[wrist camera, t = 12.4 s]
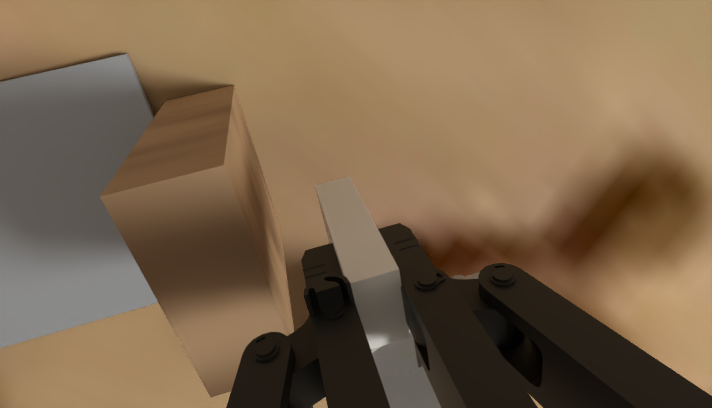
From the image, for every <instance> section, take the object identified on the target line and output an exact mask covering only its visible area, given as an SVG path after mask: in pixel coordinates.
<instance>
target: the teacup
mask: <svg viewBox="0 0 712 408" xmlns="http://www.w3.org/2000/svg"><path fill="white" fill-rule="evenodd" d="M479 273H480V272H478V273H475V274H472V275H468V276H462V275H455V276H453V277H451V278H453V279H478V275H479ZM409 334H410V337H409V338H406V339H403V340H400V341H397V342H393V343H390V344H387V345H384V346H381V347H377V348H374V349H371V352H372V355H373V358H374V361H375V364H376V367H377V369H378V372H379V375H380V378H381V381H382V384H383V387H384V390H385V393H386V396H387V399H388V402H389V405H390V408H441V406H440V403H439V401H438V399H437V397H436V395H435V392H434V390H433V388H432V386H431V383H430V381H429V379H428V377H427V375H426V372H425V370H424V368H423V366H422V367H419V368H418V363H417V357H416V350H415V344H414V338H413V336H412V333H411V331H410V329H409Z"/></svg>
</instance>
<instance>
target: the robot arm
mask: <svg viewBox="0 0 712 408" xmlns="http://www.w3.org/2000/svg"><path fill="white" fill-rule="evenodd" d="M315 188H316V192H317V196H318V199H319V203H320V207H321V211H322V215H323V219H324V223H325V227H326V231H327V235H328V239H329V242H330V244H327V245H324V246H320V247H316V248H313V249H309V250H306V251H305V253H304V256H303V258H302V260H301V261H302V266H303V271H304V276H305V281H306V288H305V290H304V298H305V301H306V304H307V307H308V311H309V314H310V315H309V318H308V319H307V321H306V322H305V323H304V324H303V325H302V326H301V327H300V328H299V329H297V330H296V331H295V332H293V333H291V334H289V335H288V336H286V335H285V334H282V333H280V332H269V333H265V334H262V335H260V336H258V337H256V338H255V339H253V340H252V341H251V342H250V343H249V344H248V345H247V346H246V348H245V350H244V352H243V354H242V357H241V361H240V364H239V367H238V371H237V374H236V377H235V381H234V384H233V387H232V391H231V394H230V397H229V401H228V404H227V407H226V408H313V405H314V404H315V403H317V402H318V401H320V400H321V399H323V398H324V397H326V400H327V405H328V408H390V405H389V402H388V399H387V396H386V393H385V390H384V387H383V384H382V381H381V378H380V375H379V372H378V369H377V367H376V364H375V361H374V358H373V355H372V352H371V349H374V348H377V347H381V346H384V345H387V344H390V343H393V342H397V341H400V340H403V339H406V338H409V337H410V334H409V329H410V331H411V333H412V336H413V338H414V344H415V350H416V357H417V363H418V368H419V367H422V366H423V368H424V370H425V372H426V375H427V377H428V379H429V381H430V383H431V386H432V388H433V390H434V392H435V395H436V397H437V399H438V401H439V403H440V406H441V408H538V407H537V406H536V405H535V403H534V402H533V400H532V399H531V397H530V396H529V394H530V395H531V396H532V397H533V398H534V399H535V400H536V401H537V402H538V403H539V404H540V405H541V406H542V407H543V408H712V396H711V395H709V394H708V393H706V392H705V391H703V390H702V389H700V388H699V387H697V386H696V385H694V384H693V383H691V382H690V381H688V380H687V379H685V378H684V377H682V376H681V375H679V374H678V373H676V372H675V371H673V370H672V369H670V368H669V367H667V366H666V365H664V364H663V363H661V362H660V361H658V360H657V359H655V358H654V357H652V356H651V355H649V354H648V353H646V352H645V351H643V350H642V349H640V348H639V347H637V346H636V345H634V344H633V343H631V342H630V341H628V340H627V339H625V338H624V337H622V336H621V335H619V334H618V333H616V332H615V331H613V330H612V329H610V328H609V327H607V326H606V325H604V324H603V323H601V322H600V321H598V320H597V319H595V318H594V317H592V316H591V315H589V314H588V313H586V312H585V311H583V310H582V309H580V308H579V307H577V306H576V305H574V304H573V303H571V302H570V301H568V300H567V299H565V298H564V297H562V296H561V295H559V294H558V293H556V292H555V291H553V290H552V289H550V288H549V287H547V286H546V285H544V284H543V283H541V282H540V281H538V280H537V279H535V278H534V277H532V276H531V275H529V274H528V273H526V272H525V271H523V270H522V269H520V268H518V267H516V266H514V265H510V264H505V263H498V264H492V265H489V266H486V267H485V268H483V269H482V270H481V271H480V273H479V275H478V279H453V278H450V277H449V276H448V275H447V274H446V273H445V272H443V271H441V270H438V269H436V268H435V266H434V265H433V263H432V262H431V260H430V259H429V257H428V256H427V254H426V253H425V251H424V250H423V248H422V247H421V245H420V244H419V242H418V241H417V239H416V238H415V236H414V234H413V233H412V231H411V230H410V229H409V228H407V227H406V226H404V225H402V224H400V223H399V224H395V225H391V226H388V227H384V228H381V229H378V228H377V226H376V224H375V222H374V221H373V219H372V217H371V215H370V213H369V211H368V209H367V207H366V205H365V203H364V202H363V200H362V198H361V196H360V194H359V192H358V190H357V188H356V186H355V184H354V183H353V181H352V179H351V177H350V176H348V177H344V178H340V179H337V180H333V181H329V182H325V183H321V184H318V185H315ZM527 392H528V393H529V394H528V393H527Z"/></svg>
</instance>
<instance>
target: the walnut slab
mask: <svg viewBox="0 0 712 408" xmlns="http://www.w3.org/2000/svg"><path fill="white" fill-rule="evenodd" d="M100 198H101V200H102V201H103V203H104V205H105V207H106V209H107V210H108V212H109V214H110V216H111V218H112V219H113V221H114V223H115V225H116V227H117V228H118V230H119V232H120V234H121V236H122V238H123V239H124V241H125V243H126V245H127V247H128V248H129V250H130V252H131V254H132V256H133V257H134V259H135V261H136V263H137V265H138V266H139V268H140V270H141V272H142V274H143V276H144V277H145V279H146V281H147V283H148V285H149V286H150V288H151V290H152V292H153V294H154V295H155V297H156V299H157V301H158V303H159V304H160V306H161V308H162V310H163V312H164V314H165V315H166V317H167V319H168V321H169V323H170V324H171V326H172V328H173V330H174V332H175V333H176V335H177V337H178V339H179V341H180V342H181V344H182V346H183V348H184V350H185V352H186V353H187V355H188V357H189V359H190V361H191V362H192V364H193V366H194V368H195V370H196V371H197V373H198V375H199V377H200V379H201V380H202V382H203V384H204V386H205V388H206V390H207V391H208V393H209V395H210V397H214V396H217V395H220V394H223V393H227V392H230V391H232V387H233V384H234V381H235V377H236V374H237V371H238V367H239V364H240V361H241V357H242V354H243V352H244V350H245V348H246V346H247V345H248V344H249V343H250V342H251V341H252V340H253V339H255V338H256V337H258V336H260V335H262V334H265V333H269V332H280V333H282V334H285V335H286V336H288V335H289V334H291V333H293V332H294V326H293V319H292V311H291V304H290V296H289V289H288V281H287V274H286V266H285V259H284V251H283V244H282V236H281V229H280V226H279V223H278V219H277V216H276V213H275V210H274V207H273V204H272V201H271V198H270V195H269V192H268V188H267V185H266V182H265V179H264V176H263V173H262V170H261V167H260V164H259V160H258V157H257V154H256V151H255V148H254V145H253V142H252V139H251V136H250V132H249V129H248V126H247V123H246V120H245V117H244V114H243V111H242V108H241V104H240V101H239V98H238V95H237V92H236V89H235V86H234V85H231V86H227V87H223V88H219V89H214V90H210V91H206V92H201V93H197V94H193V95H189V96H184V97H180V98H176V99H171V100H167V101H165V102H164V104H163V105H162V107H161V108H160V110H159V111H158V113H157V114H156V115H155V117H154V118H153V120H152V121H151V123H150V124H149V126H148V127H147V129H146V130H145V132H144V133H143V134H142V136H141V137H140V139H139V140H138V142H137V143H136V145H135V146H134V148H133V149H132V150H131V152H130V153H129V155H128V156H127V158H126V159H125V161H124V162H123V164H122V165H121V166H120V168H119V169H118V171H117V172H116V174H115V175H114V177H113V178H112V180H111V181H110V183H109V184H108V185H107V187H106V188H105V190H104V191H103V193H102V194H101V196H100Z"/></svg>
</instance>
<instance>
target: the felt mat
mask: <svg viewBox="0 0 712 408" xmlns="http://www.w3.org/2000/svg"><path fill="white" fill-rule="evenodd" d="M154 117H155V116H154V113H153V111H152V109H151V106H150V104H149V102H148V99H147V97H146V95H145V93H144V90H143V88H142V86H141V83H140V81H139V79H138V77H137V74H136V72H135V70H134V67H133V65H132V63H131V61H130V58H129V56H128V54H127V53H126V54H121V55H117V56H113V57H108V58H104V59H99V60H95V61H90V62H86V63H81V64H77V65H73V66H68V67H64V68H59V69H55V70H50V71H46V72H41V73H37V74H32V75H28V76H24V77H19V78H15V79H10V80H6V81H1V82H0V348H2V347H6V346H9V345H13V344H16V343H20V342H23V341H27V340H30V339H34V338H37V337H41V336H44V335H48V334H51V333H54V332H58V331H61V330H65V329H68V328H72V327H75V326H79V325H82V324H86V323H89V322H93V321H96V320H100V319H103V318H107V317H110V316H114V315H117V314H120V313H124V312H127V311H131V310H134V309H138V308H141V307H145V306H148V305H152V304H155V303H158V301H157V299H156V297H155V295H154V294H153V292H152V290H151V288H150V286H149V285H148V283H147V281H146V279H145V277H144V276H143V274H142V272H141V270H140V268H139V266H138V265H137V263H136V261H135V259H134V257H133V256H132V254H131V252H130V250H129V248H128V247H127V245H126V243H125V241H124V239H123V238H122V236H121V234H120V232H119V230H118V228H117V227H116V225H115V223H114V221H113V219H112V218H111V216H110V214H109V212H108V210H107V209H106V207H105V205H104V203H103V201H102V200H101V198H100V196H101V194H102V193H103V191H104V190H105V188H106V187H107V185H108V184H109V183H110V181H111V180H112V178H113V177H114V175H115V174H116V172H117V171H118V169H119V168H120V166H121V165H122V164H123V162H124V161H125V159H126V158H127V156H128V155H129V153H130V152H131V150H132V149H133V148H134V146H135V145H136V143H137V142H138V140H139V139H140V137H141V136H142V134H143V133H144V132H145V130H146V129H147V127H148V126H149V124H150V123H151V121H152V120H153V118H154Z"/></svg>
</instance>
